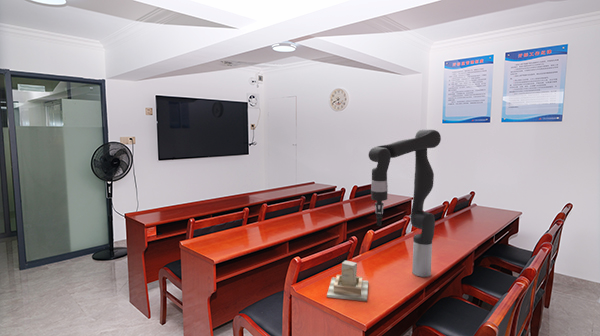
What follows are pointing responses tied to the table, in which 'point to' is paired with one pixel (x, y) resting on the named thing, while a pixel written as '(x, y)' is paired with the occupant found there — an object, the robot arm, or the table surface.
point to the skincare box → (348, 273)
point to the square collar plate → (348, 289)
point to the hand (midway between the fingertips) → (379, 222)
